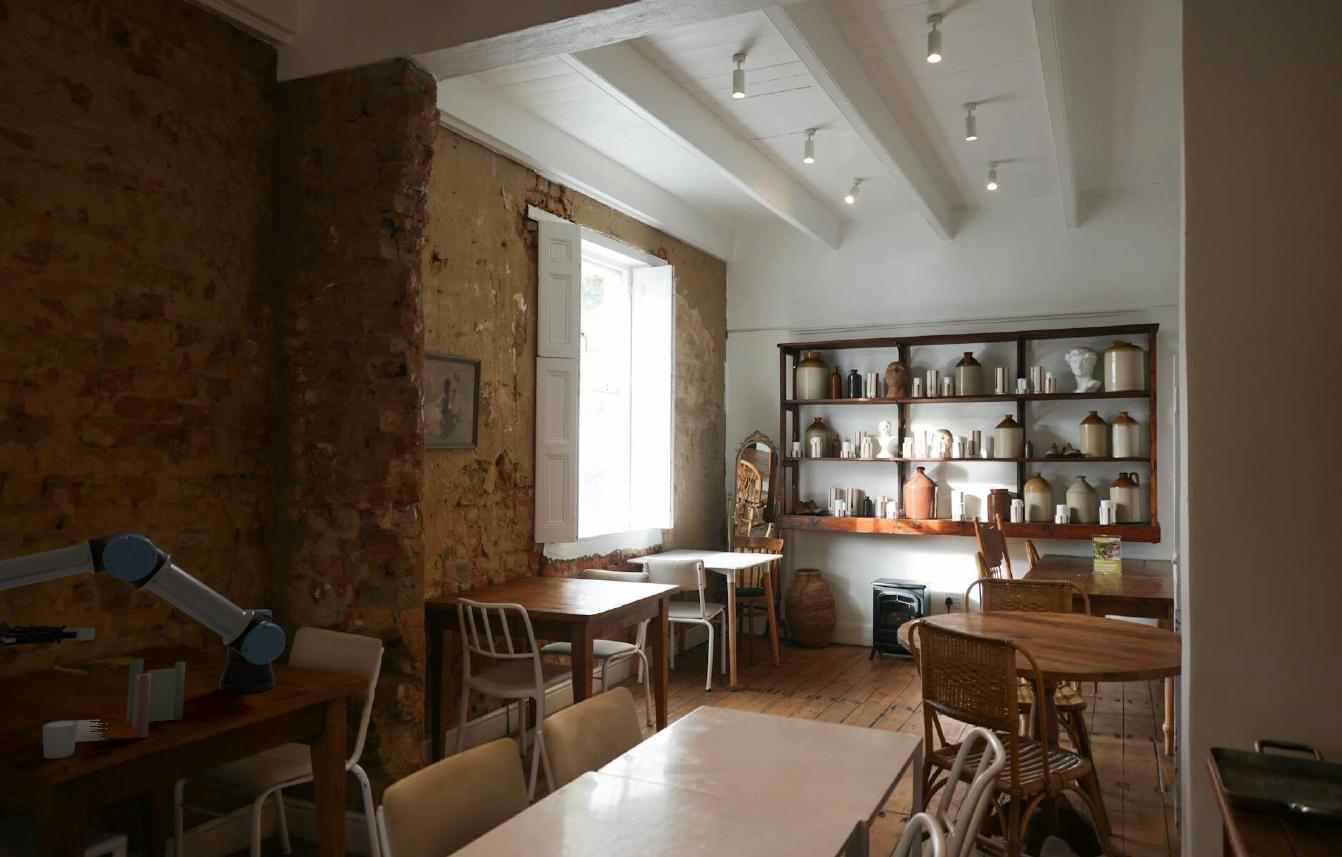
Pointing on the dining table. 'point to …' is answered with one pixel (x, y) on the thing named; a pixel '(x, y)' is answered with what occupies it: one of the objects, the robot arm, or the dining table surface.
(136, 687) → the gate panel
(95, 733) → the card
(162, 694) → the fence post and fixed panel
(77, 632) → the robot arm
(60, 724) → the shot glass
